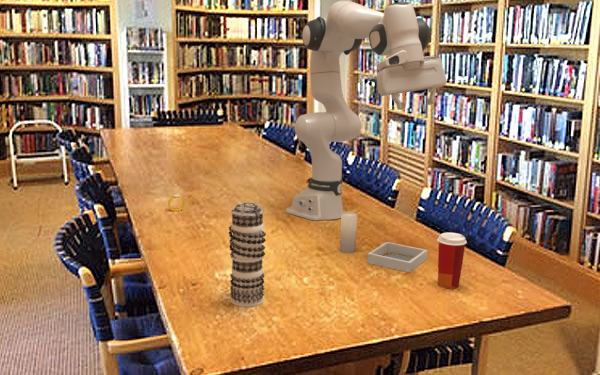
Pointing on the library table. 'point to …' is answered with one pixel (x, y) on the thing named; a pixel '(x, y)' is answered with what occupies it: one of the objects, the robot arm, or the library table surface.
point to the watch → (175, 197)
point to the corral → (397, 257)
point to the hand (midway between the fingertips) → (416, 106)
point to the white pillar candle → (348, 232)
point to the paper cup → (450, 259)
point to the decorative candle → (247, 255)
